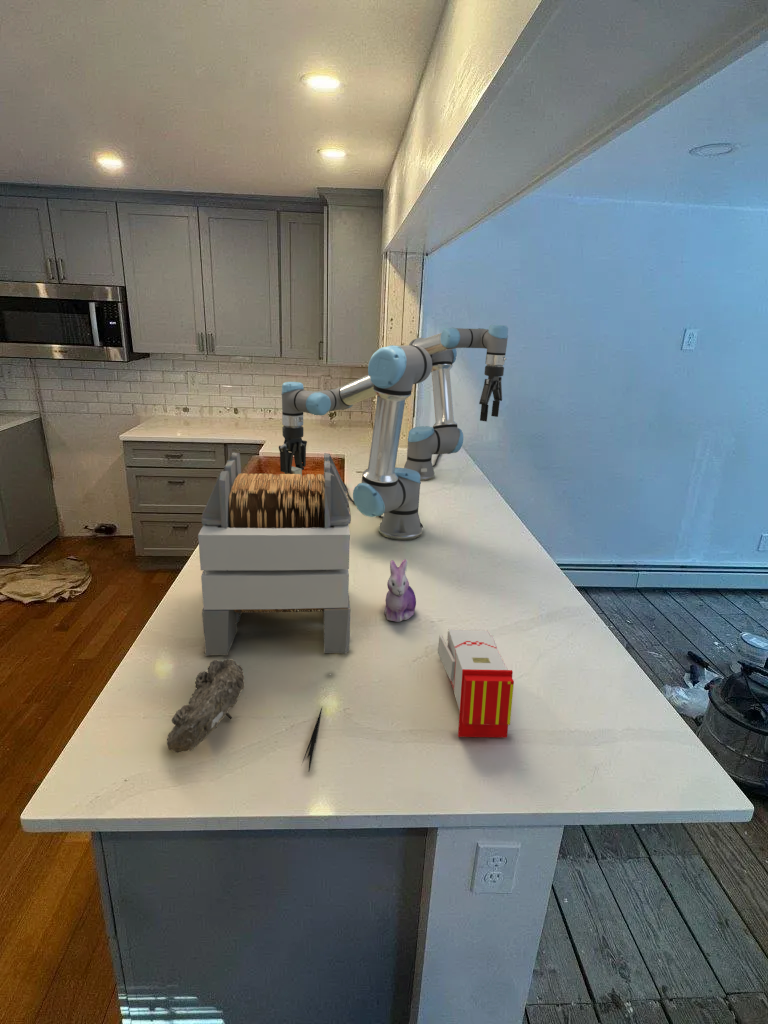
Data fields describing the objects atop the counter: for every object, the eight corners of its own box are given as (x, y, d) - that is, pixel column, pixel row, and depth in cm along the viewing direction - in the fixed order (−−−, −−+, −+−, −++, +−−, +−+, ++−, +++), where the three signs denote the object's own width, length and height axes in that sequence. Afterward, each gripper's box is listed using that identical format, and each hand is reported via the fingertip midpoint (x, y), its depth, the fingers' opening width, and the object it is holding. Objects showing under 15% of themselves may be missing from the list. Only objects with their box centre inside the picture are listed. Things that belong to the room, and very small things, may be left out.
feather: (331, 679, 122) (336, 673, 122) (307, 777, 96) (313, 769, 95) (324, 675, 122) (329, 669, 121) (298, 772, 95) (304, 764, 95)
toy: (488, 613, 130) (523, 677, 101) (484, 667, 133) (517, 744, 104) (435, 612, 130) (455, 676, 101) (432, 666, 133) (451, 743, 103)
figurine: (392, 627, 141) (395, 572, 136) (374, 608, 149) (376, 556, 144) (425, 619, 145) (429, 566, 140) (405, 601, 154) (408, 550, 149)
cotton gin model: (226, 586, 157) (217, 442, 143) (344, 585, 161) (346, 445, 147) (202, 658, 125) (189, 482, 112) (350, 654, 129) (354, 483, 115)
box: (284, 496, 213) (283, 468, 209) (291, 493, 216) (291, 465, 213) (295, 499, 210) (294, 470, 207) (302, 496, 214) (302, 468, 210)
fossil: (192, 660, 117) (244, 628, 112) (224, 691, 120) (276, 661, 115) (142, 746, 98) (202, 712, 93) (182, 779, 101) (242, 748, 96)
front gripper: (285, 431, 195) (286, 495, 203) (316, 423, 209) (315, 484, 217) (268, 428, 199) (270, 491, 207) (300, 421, 213) (300, 480, 221)
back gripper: (493, 368, 214) (487, 424, 221) (513, 364, 235) (507, 415, 242) (474, 366, 217) (469, 421, 225) (496, 363, 238) (490, 413, 245)
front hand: (293, 487), depth 212 cm, fingers closed on box, 4 cm apart
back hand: (489, 418), depth 233 cm, fingers open, 13 cm apart
